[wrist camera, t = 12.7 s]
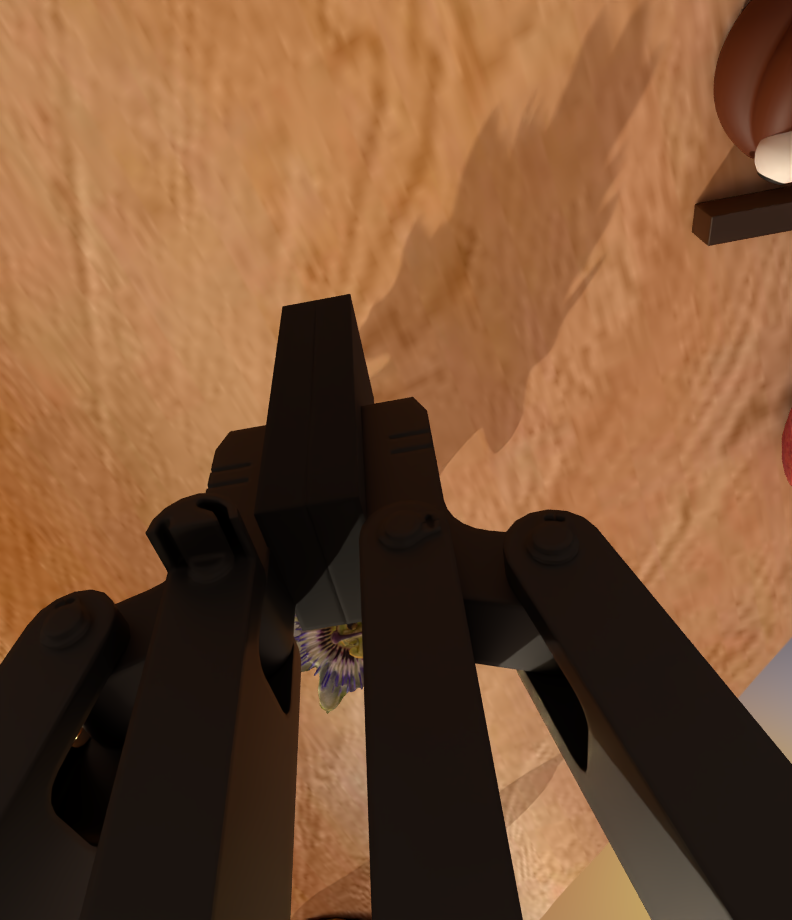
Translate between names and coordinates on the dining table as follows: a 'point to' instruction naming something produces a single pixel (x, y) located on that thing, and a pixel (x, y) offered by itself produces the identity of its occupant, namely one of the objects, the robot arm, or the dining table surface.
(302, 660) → the passion flower
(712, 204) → the dark brown u-shaped frame
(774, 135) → the poop emoji
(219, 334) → the dining table surface
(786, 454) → the fruit
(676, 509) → the dining table surface
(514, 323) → the dining table surface
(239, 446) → the robot arm
